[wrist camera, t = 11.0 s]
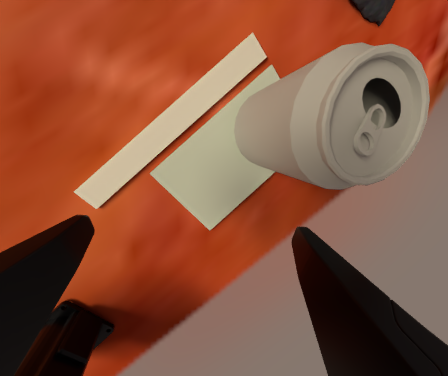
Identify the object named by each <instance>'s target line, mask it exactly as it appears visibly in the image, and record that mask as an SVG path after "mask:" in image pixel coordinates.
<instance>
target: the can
mask: <svg viewBox="0 0 448 376" xmlns="http://www.w3.org/2000/svg"><path fill="white" fill-rule="evenodd" d="M429 100H430V98H429V88H428V79H427V77H426V74H425V72H424V69H423V67H422V64H421V63H420V61H419V60H418V59H417V58H416V57H415V56H414V55H413V54H412V53H411V52H410V51H409V50H408V49H406V48H403V47H400V46H397V45H394V44H387V45H380V46H371V45H368V44H365V43H355V44H349V45H342V46H340V47H338V48H337V49H335V50H333V51H331V52H329V53H327V54H326V55H324V56H322V57H320V58H318V59H316V60H315V61H313V62H311V63H309V64H307V65H306V66H304V67H302V68H300V69H298V70H296V71H295V72H293V73H291V74H289V75H287V76H285V77H284V78H282V79H280V80H278V81H276V82H275V83H273V84H271V85H269V86H267V87H265V88H264V89H262V90H260V91H258V92H257V93H255V94H253V95H252V96H250V97H248V99H247V100H246V101H245V102H244V103H243V104H242V106H241V107H240V109H239V112H238V114H237V116H236V119H235V127H234V134H235V140H236V144H237V146H238V148H239V150H240V152H241V154H242V155H243V156H244V157H245V158H246V159H247V160H248V161H250V162H252V163H254V164H256V165H258V166H261V167H264V168H267V169H270V170H273V171H276V172H279V173H282V174H284V175H287V176H290V177H293V178H296V179H299V180H302V181H305V182H308V183H311V184H313V185H316V186H319V187H322V188H325V189H340V190H342V189H346V188H349V187H352V186H355V185H370V184H373V183H376V182H379V181H382V180H384V179H385V178H387V177H388V176H389V175H391V174H392V173H394V172H395V171H397V170H398V169H399V168H400V167H401V166H402V164H403V163H404V162H405V161H406V160H407V159H408V158H409V157H410V155H411V154H412V152H413V150H414V148H415V147H416V145H417V143H418V142H419V140H420V138H421V135H422V132H423V129H424V126H425V124H426V121H427V115H428V108H429Z"/></svg>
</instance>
